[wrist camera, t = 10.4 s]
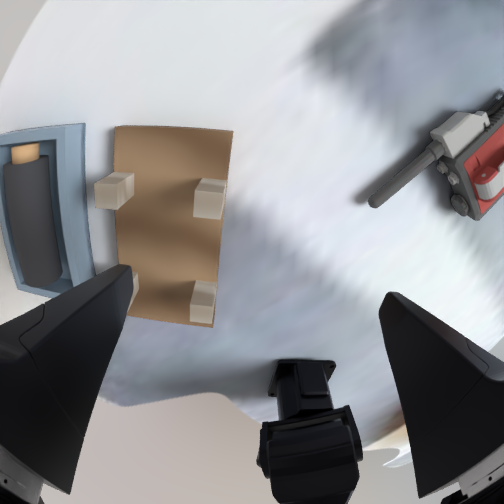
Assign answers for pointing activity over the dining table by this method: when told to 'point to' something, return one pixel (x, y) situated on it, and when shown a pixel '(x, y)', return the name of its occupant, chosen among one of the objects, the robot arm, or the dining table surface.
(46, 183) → the tan-capped grey cylinder
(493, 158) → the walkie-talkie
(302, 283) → the dining table surface
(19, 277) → the tray
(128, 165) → the block
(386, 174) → the dining table surface
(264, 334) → the dining table surface
